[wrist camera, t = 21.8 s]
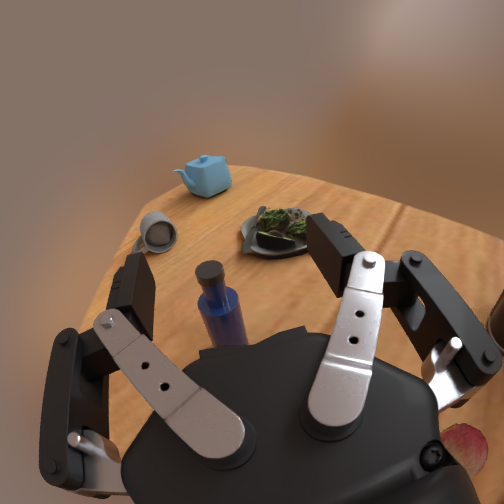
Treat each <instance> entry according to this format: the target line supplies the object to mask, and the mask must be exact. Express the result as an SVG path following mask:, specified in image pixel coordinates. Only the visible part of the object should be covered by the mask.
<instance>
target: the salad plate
mask: <svg viewBox="0 0 504 504" xmlns="http://www.w3.org/2000/svg"><path fill="white" fill-rule="evenodd" d="M266 209H267V208H266V207H265V206H261V207H260V208H259V210H258V213H257V215H256V216H253V217H250V218H248V219H247V220H245V221H244V222H243V223H242V225H241V231H242V234H243V236H244V238H245V241H244V243H243V245H242V251H243V252H244V253H253V254H256V255H258V256H259V257H262V258H266V259H283V258H288V257H293V256H298V255H302V254H305V253H308V249H307V244H306V217H307V216H308V215H311V214H310V213H309V212H307V211H306V210H303V209H298V208H287V209H279V210H278V209H275V210H271V209H270V208H268V212H267V211H266Z"/></svg>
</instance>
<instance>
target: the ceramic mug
mask: <svg viewBox="0 0 504 504" xmlns="http://www.w3.org/2000/svg"><path fill="white" fill-rule="evenodd" d="M140 231H141V236H140V237H139V238H138V240H137V241H136V242H135V244H134V246H133V252H134V253H138V252H143V253H144V254H145V253H146V252H148V251H149V250H150V251H151V252H154V253H163V252H166V251H168V250H170V249H171V248H172V247H173V246H174V244H175V242H176V240H177V230H176V228H175V226H174V224H173V223H172V222H171V221H170V220H169V219H168V218H167V216H166V215H164V214H163V213H160V212H150V213H148V214H147V215H145V216H144V217H143V219H142V221H141V224H140ZM143 242H144V244H145V245H144V246H143V247H142V248H141V249H140V250H138V249H139V247H140V245H141V244H142V243H143Z"/></svg>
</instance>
